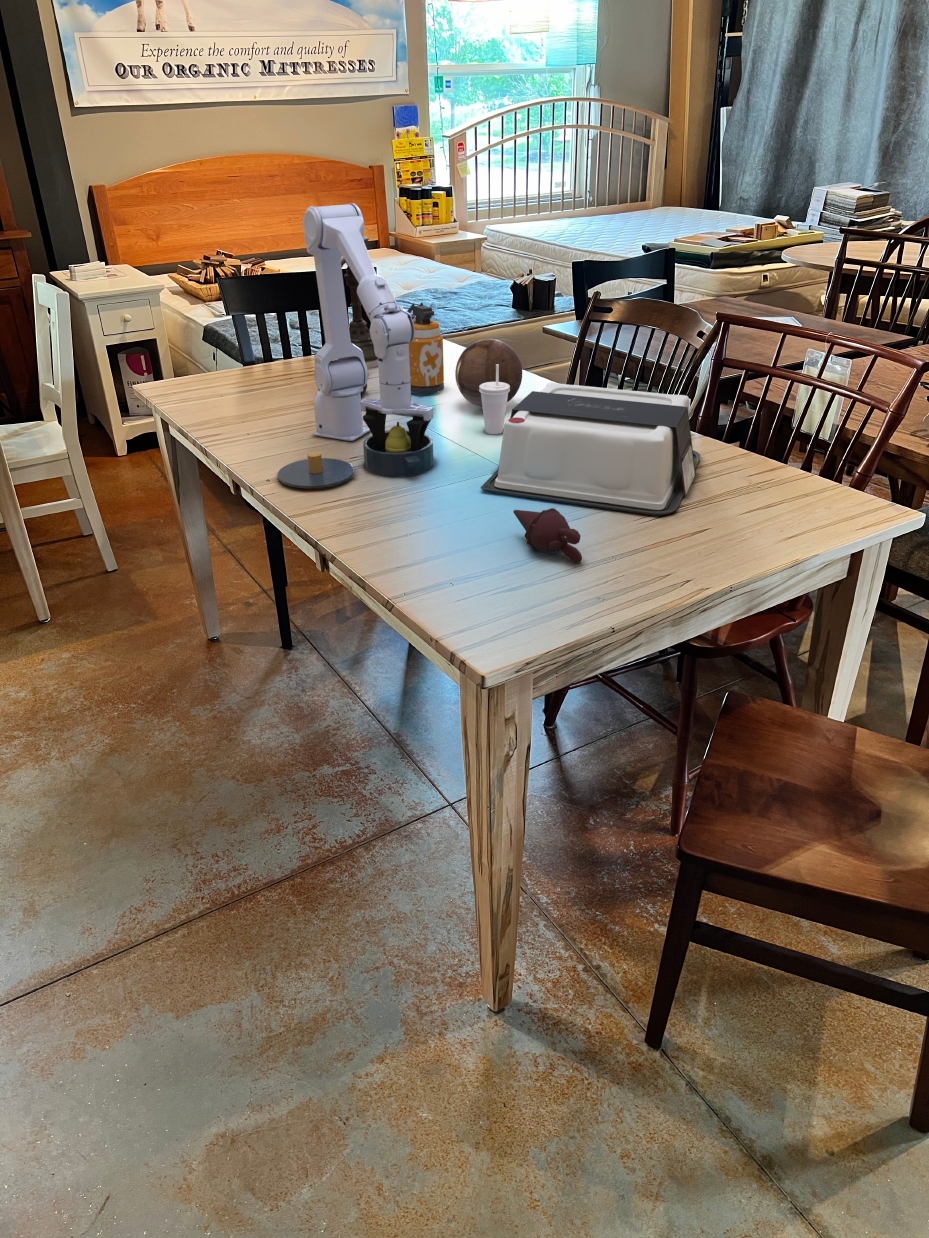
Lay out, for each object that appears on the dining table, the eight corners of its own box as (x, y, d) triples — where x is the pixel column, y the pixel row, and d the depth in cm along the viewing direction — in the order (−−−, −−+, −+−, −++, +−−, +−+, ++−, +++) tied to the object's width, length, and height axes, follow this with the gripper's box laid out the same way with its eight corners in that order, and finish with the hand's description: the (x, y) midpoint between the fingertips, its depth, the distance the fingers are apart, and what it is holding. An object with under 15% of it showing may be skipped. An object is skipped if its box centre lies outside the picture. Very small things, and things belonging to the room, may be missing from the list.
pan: (381, 486, 158) (379, 463, 156) (352, 453, 173) (351, 431, 170) (448, 475, 162) (448, 452, 160) (415, 444, 177) (414, 423, 175)
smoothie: (506, 437, 180) (507, 369, 173) (476, 435, 181) (476, 368, 174) (511, 427, 185) (512, 361, 178) (482, 425, 187) (482, 360, 179)
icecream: (493, 504, 134) (559, 544, 125) (529, 482, 137) (596, 520, 128) (499, 539, 139) (563, 580, 130) (533, 516, 142) (598, 555, 132)
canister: (416, 398, 204) (412, 310, 194) (397, 387, 212) (393, 301, 202) (450, 393, 208) (448, 306, 197) (430, 382, 216) (427, 298, 206)
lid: (287, 496, 154) (284, 472, 152) (271, 470, 166) (268, 447, 163) (364, 484, 159) (362, 460, 157) (343, 459, 170) (341, 437, 168)
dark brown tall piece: (334, 375, 222) (320, 226, 204) (315, 364, 232) (300, 221, 214) (392, 366, 229) (384, 221, 211) (371, 355, 239) (362, 216, 221)
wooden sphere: (525, 398, 203) (526, 332, 195) (517, 418, 190) (518, 349, 183) (462, 396, 205) (461, 331, 198) (450, 415, 193) (448, 347, 185)
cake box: (477, 492, 155) (477, 424, 148) (533, 434, 181) (535, 375, 175) (674, 520, 144) (683, 448, 137) (704, 454, 170) (713, 391, 163)
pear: (381, 464, 166) (378, 423, 162) (394, 455, 170) (392, 416, 166) (404, 468, 164) (402, 427, 160) (416, 459, 168) (415, 419, 164)
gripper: (349, 382, 159) (355, 453, 166) (419, 391, 153) (422, 464, 160) (369, 372, 164) (374, 441, 171) (437, 381, 159) (439, 451, 166)
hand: (398, 451), depth 166 cm, fingers open, 7 cm apart
